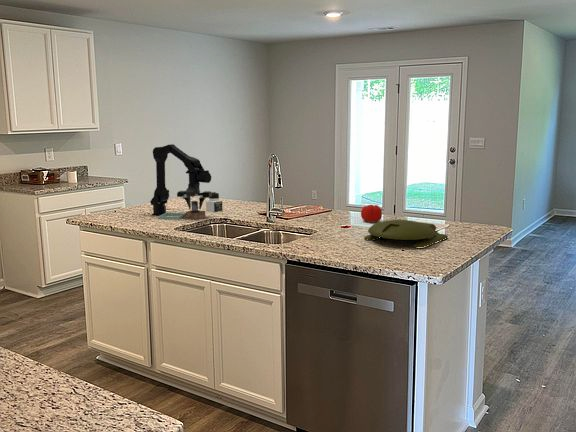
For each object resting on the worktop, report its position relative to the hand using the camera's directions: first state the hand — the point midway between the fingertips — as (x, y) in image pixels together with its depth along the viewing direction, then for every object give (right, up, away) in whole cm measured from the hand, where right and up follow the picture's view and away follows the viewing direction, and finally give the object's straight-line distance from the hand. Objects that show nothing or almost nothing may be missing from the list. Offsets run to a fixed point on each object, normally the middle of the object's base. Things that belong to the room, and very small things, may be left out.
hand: (195, 209), depth 321 cm
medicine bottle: (+8, -2, +22) cm, 23 cm away
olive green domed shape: (+107, -16, -53) cm, 120 cm away
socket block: (0, -5, +1) cm, 6 cm away
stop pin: (0, -4, +1) cm, 4 cm away
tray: (-13, -6, 0) cm, 14 cm away
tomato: (+98, -7, -9) cm, 99 cm away
